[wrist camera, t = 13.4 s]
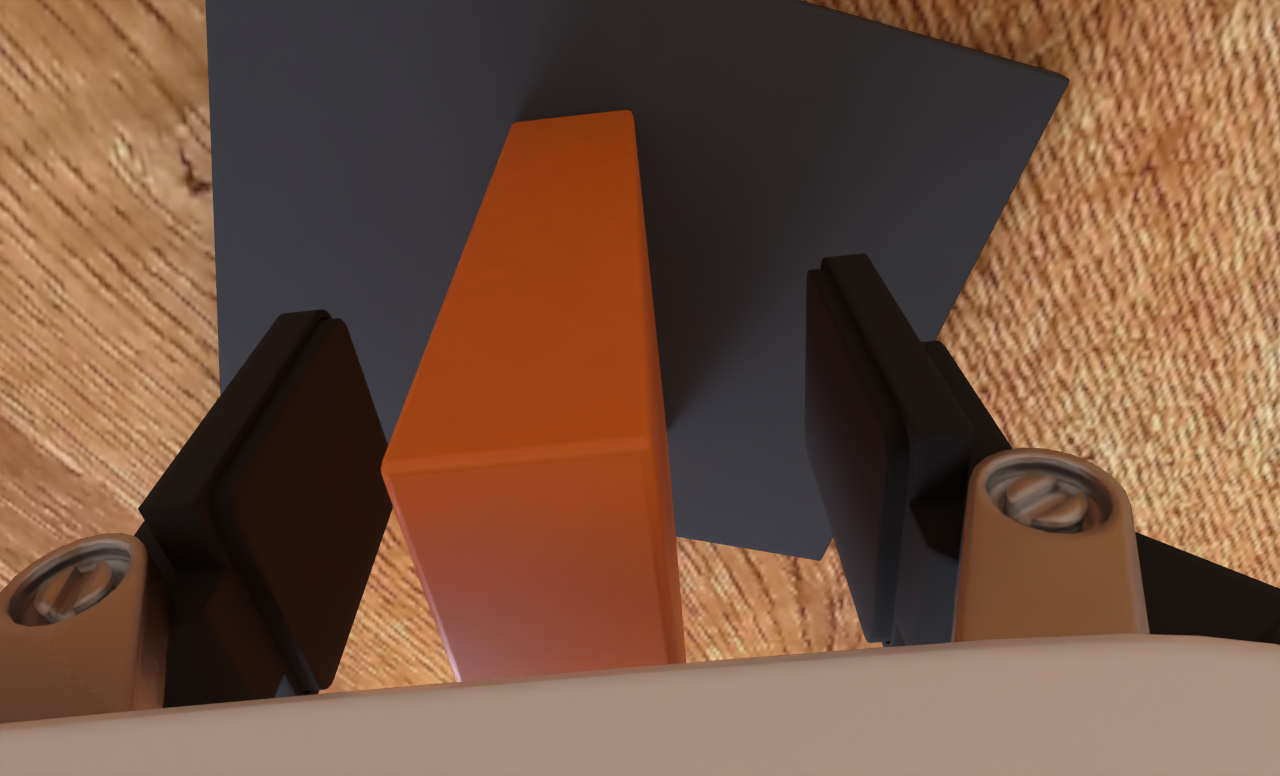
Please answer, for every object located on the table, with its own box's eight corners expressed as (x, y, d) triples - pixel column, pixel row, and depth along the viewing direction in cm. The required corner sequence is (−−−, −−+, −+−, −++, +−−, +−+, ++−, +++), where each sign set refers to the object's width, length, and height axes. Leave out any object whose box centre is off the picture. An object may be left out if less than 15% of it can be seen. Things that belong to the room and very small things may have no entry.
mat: (230, 447, 16) (221, 460, 15) (211, -167, 10) (198, -167, 10) (817, 548, 17) (821, 562, 17) (1059, 72, 12) (1071, 80, 12)
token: (571, 444, 15) (535, 910, 9) (510, 121, 12) (371, 467, 5) (667, 435, 15) (706, 897, 8) (633, 106, 12) (652, 441, 5)
